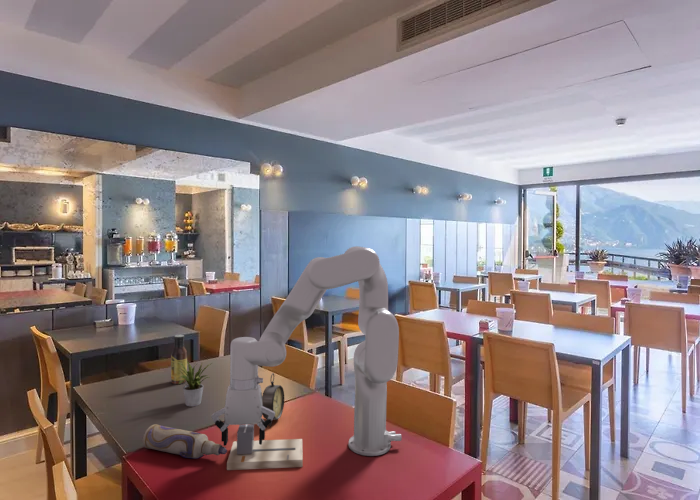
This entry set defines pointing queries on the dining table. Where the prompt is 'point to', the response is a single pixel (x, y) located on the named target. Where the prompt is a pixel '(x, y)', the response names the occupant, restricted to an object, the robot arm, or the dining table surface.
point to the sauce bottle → (178, 359)
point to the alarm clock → (273, 400)
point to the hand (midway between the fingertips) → (243, 442)
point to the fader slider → (245, 439)
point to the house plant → (192, 385)
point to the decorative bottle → (180, 442)
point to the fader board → (268, 455)
